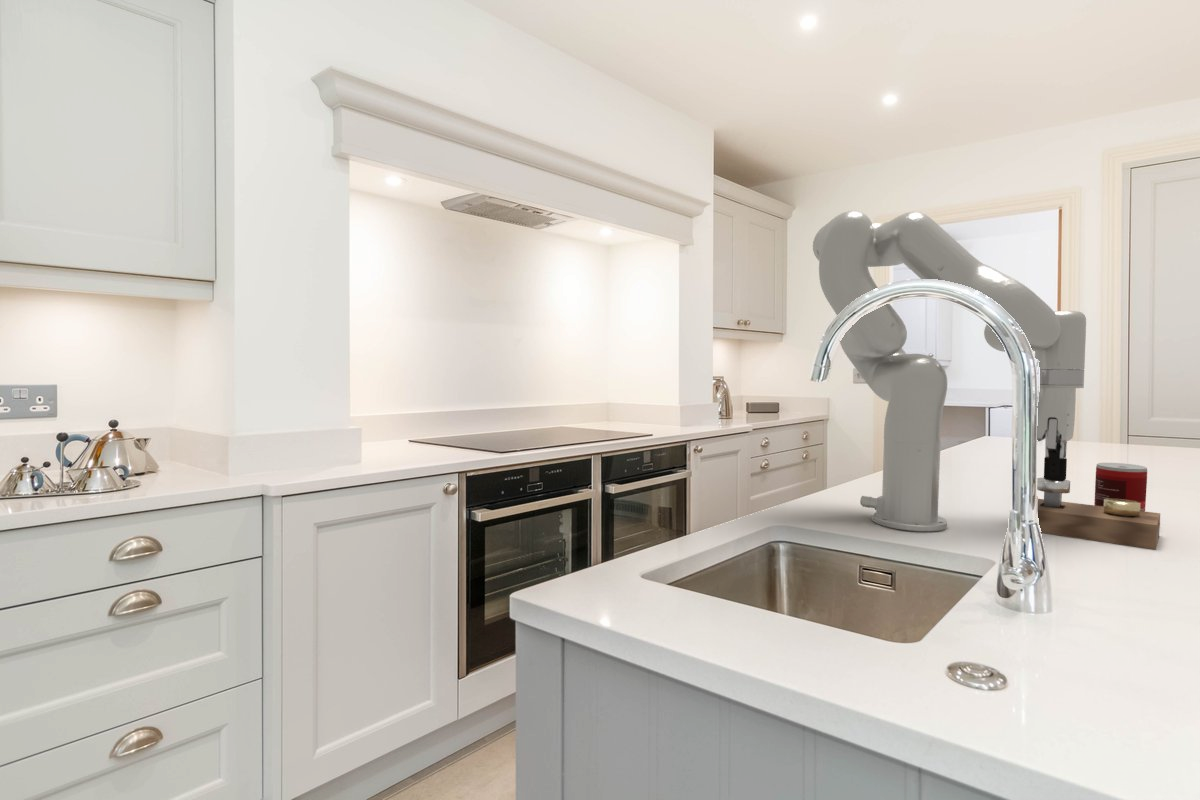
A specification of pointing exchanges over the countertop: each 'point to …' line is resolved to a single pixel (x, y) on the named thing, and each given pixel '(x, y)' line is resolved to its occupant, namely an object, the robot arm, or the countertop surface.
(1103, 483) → the canned food
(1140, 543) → the button block
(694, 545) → the countertop surface
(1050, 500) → the steel button
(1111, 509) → the brass button
